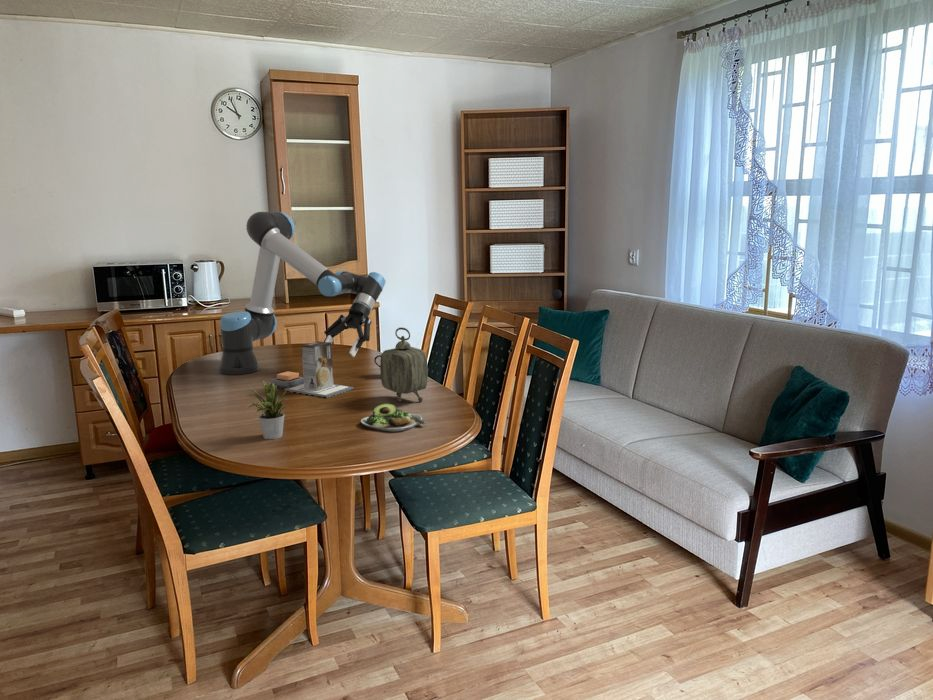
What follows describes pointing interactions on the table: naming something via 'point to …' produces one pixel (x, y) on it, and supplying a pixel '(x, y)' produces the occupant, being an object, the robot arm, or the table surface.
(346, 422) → the table surface
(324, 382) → the coffee box
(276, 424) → the house plant
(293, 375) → the button
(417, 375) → the tabletop clock
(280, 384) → the button housing
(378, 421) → the salad plate
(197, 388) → the table surface
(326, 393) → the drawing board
